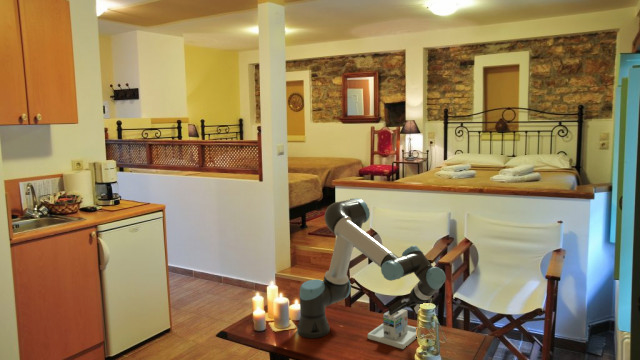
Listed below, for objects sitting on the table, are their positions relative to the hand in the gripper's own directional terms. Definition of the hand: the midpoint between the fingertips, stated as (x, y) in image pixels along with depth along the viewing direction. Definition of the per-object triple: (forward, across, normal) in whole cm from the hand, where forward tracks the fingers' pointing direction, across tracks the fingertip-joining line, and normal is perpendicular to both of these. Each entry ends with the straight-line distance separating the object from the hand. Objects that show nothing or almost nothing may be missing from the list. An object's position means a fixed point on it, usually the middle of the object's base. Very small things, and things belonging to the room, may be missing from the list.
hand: (402, 313), depth 220 cm
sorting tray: (+13, 0, -5) cm, 14 cm away
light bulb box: (+13, 0, -5) cm, 14 cm away
